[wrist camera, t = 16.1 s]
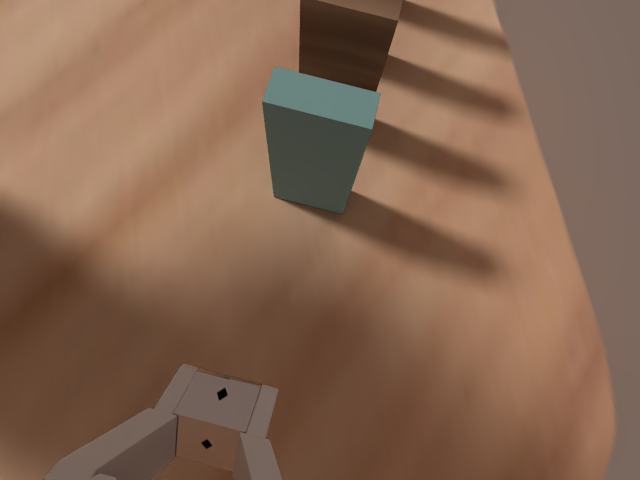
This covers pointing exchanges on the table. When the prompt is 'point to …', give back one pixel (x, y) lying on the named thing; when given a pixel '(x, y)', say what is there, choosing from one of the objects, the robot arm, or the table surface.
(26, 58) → the table surface
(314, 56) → the walnut domino
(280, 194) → the teal domino
